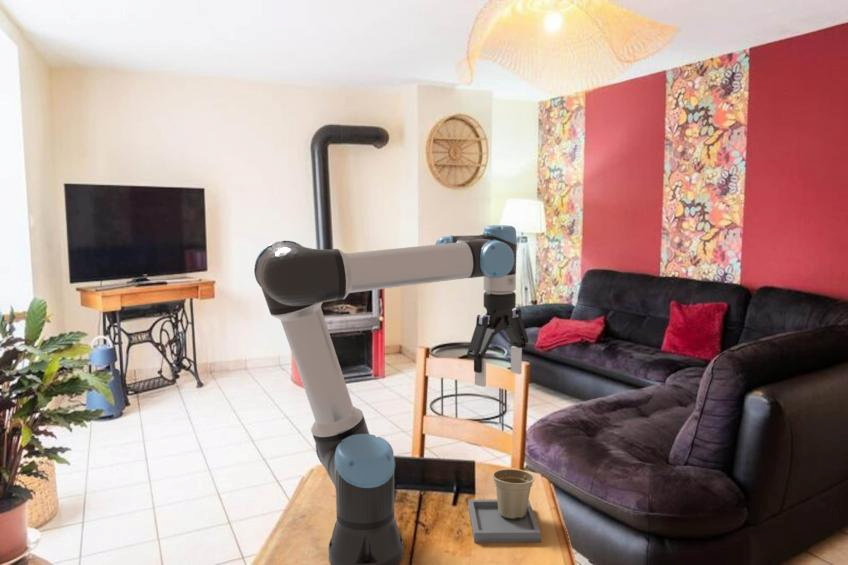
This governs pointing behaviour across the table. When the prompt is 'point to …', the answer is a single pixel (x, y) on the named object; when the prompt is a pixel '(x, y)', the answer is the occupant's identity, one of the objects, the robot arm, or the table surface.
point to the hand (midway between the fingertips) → (498, 379)
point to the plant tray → (501, 524)
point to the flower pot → (513, 491)
